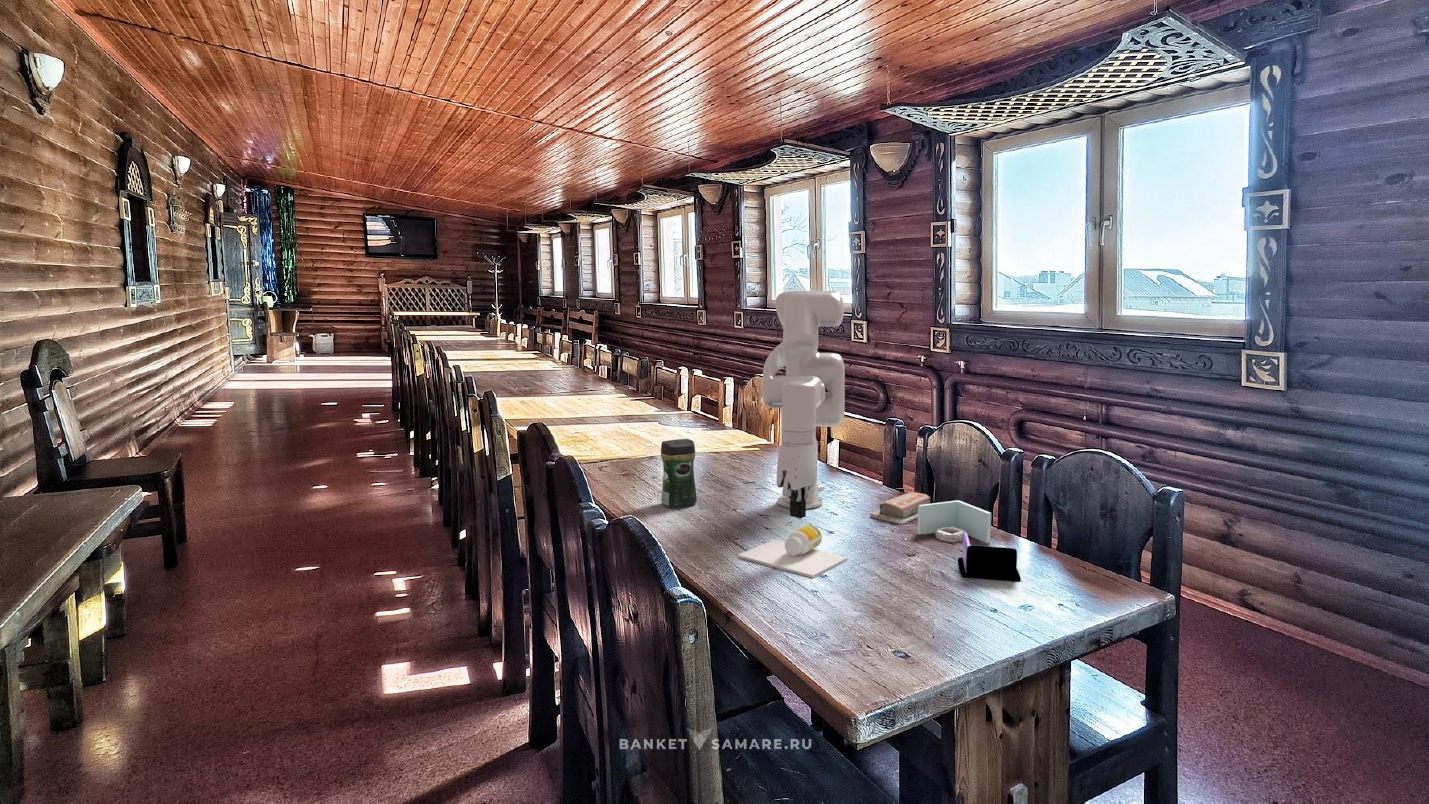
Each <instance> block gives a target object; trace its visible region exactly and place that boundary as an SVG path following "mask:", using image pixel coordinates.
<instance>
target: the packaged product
mask: <svg viewBox="0 0 1429 804" xmlns="http://www.w3.org/2000/svg"><path fill="white" fill-rule="evenodd" d="M924 504H931V496H929V495H928V494H927V493H920V492H916V491H909V492H907V493H904V494H900V495H898V496H895V497H893V498H890V499H887V500H885V501H882V502H880V504H879V509H877V510H873V511H871V512H870V513H869V515H870V518H872V519H876V518H878V519H877V520H880V519H882V520H881V521H884V520H885V522H890V523H893V522H894V523H893V524H897V523H898V524H897V525H906V524H907V523H909V522H911V521H914V519H915V520H918V505H924ZM905 523H906V524H905Z"/></svg>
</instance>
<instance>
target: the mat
mask: <svg viewBox="0 0 1429 804" xmlns="http://www.w3.org/2000/svg"><path fill="white" fill-rule="evenodd" d="M737 558H738V559H742V560H745V559H746V560H745V561H750V562H753V563H756V564H761V565H764V566H766V567H767V566H768V567H770V568H774V567H775V569H779V570H782V571H786V572H789V571H791V572H790V573H793V572H794V574H796V573H797V574H796V575H801V576H804V577H808V578H813V579H814V578H816V577H818V576H820V575H822V574H824V573H826V572H827V571H829V570H831V569H833V568H835V567H838V566H839V565H841V564H843V563H845V562H847V561H848V556H847V557H846V556H842V555H839V554H835V553H830V552H826V551H821V550H818V549H815V548H814V549H812V550H810V551H808V552H807V553H805V554H803V555H791V554H789V553H788V552H787V551H786V549H785V541H781V540H778V539H773V540H770V541H767V542H766V543H763V544H761V545H759V546H755V547H754V548H751V549H749V550H746V551H744V552H742V553H740V554H737Z"/></svg>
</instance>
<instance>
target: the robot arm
mask: <svg viewBox="0 0 1429 804" xmlns="http://www.w3.org/2000/svg"><path fill="white" fill-rule="evenodd" d="M775 310H776V314H777V317H778V320H779V323H780V325H781V327H782V329H783V334H782V336H783V337H782V338H783V339H782V342H781V343H779V344H778V345H777V346H776V347H775V348H774V349H773V350H772V351H771V352H770V354H769V355H768V357H767V358H766V360H765V362H764V365H763V370H762V380H761V381H762V383H761V398H762V401H763V403H764V405H765V406H766V407H768V408H772V409H779V410H780V415H781V444H780V446H779V450H778V455H777V466H776V486H777V488H782V491H781V495H780V496H779V497H778V498H777V501H776V502H777V504H778V505H779V506H781V507H783V508H787V509H789V516H790V517H792V518H797V519H804V518H806V516H807V514H806V511H807V510H808V509H816V508H819V507H821V506H822V505H823V499H822V498H821V497H819V496H818V495H819V493H821V492H823V491H825V486H824V485H823V484H818V440H817V438H816V437H817V435H816V434H817V433H816V432H817V427H818V428H819V427H821V428H822V427H824V428H825V427H827V428H828V427H829V428H832V427H839V426H840V425H841V424H842V423H843V422H844V418H845V398H846V397H845V395H846V393H845V391H846V390H845V388H846V385H845V382H846V375H845V374H846V371H845V363H844V359H843V357H842V356H841V355H840V354H838V353H835V352H819V351H818V349H819V327H825V328H826V327H829V328H830V327H834V328H835V327H839V326H840V325H841V324H842V323H843V319H844V316H845V315H844V314H845V306H844V300H843V297H842V295H841V293H840V291H837V290H789V291H788V290H787V291H784V292H780V293H779V294H778V295H777V296H776V298H775ZM784 368H785V375H776V374H777V373H778V372H779V371H780V370H781V369H784ZM826 389H827V390H828V392H827V391H826Z"/></svg>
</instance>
